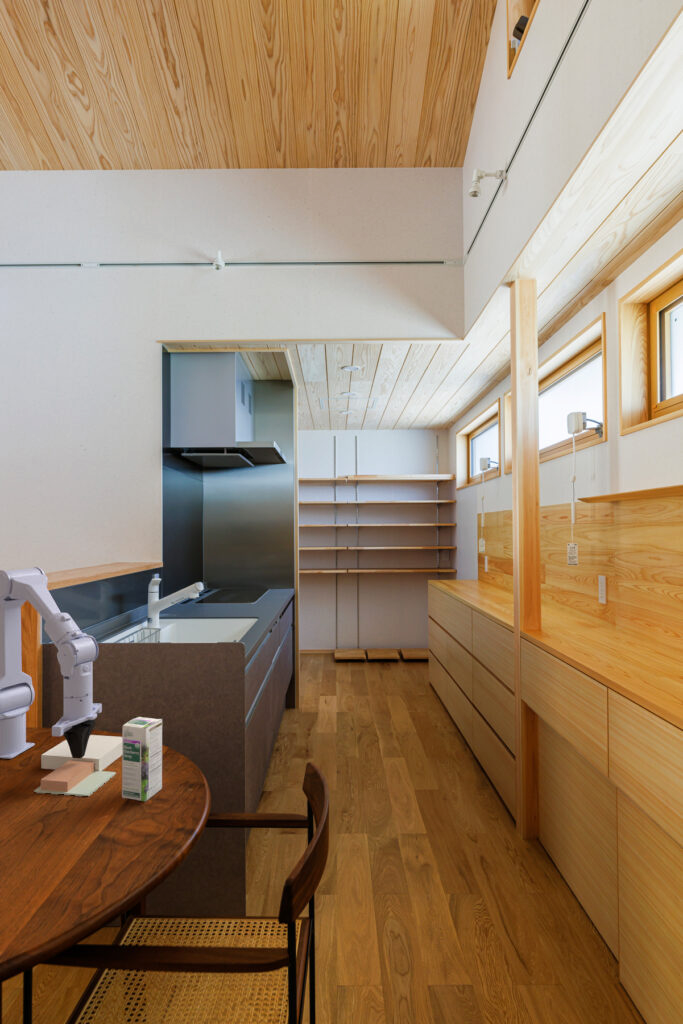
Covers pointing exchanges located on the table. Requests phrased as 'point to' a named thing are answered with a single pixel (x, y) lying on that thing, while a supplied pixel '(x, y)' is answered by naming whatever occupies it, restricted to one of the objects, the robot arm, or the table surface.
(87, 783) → the mat
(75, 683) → the robot arm
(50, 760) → the white flat block
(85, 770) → the tile
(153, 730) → the syrup box
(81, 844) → the table surface
